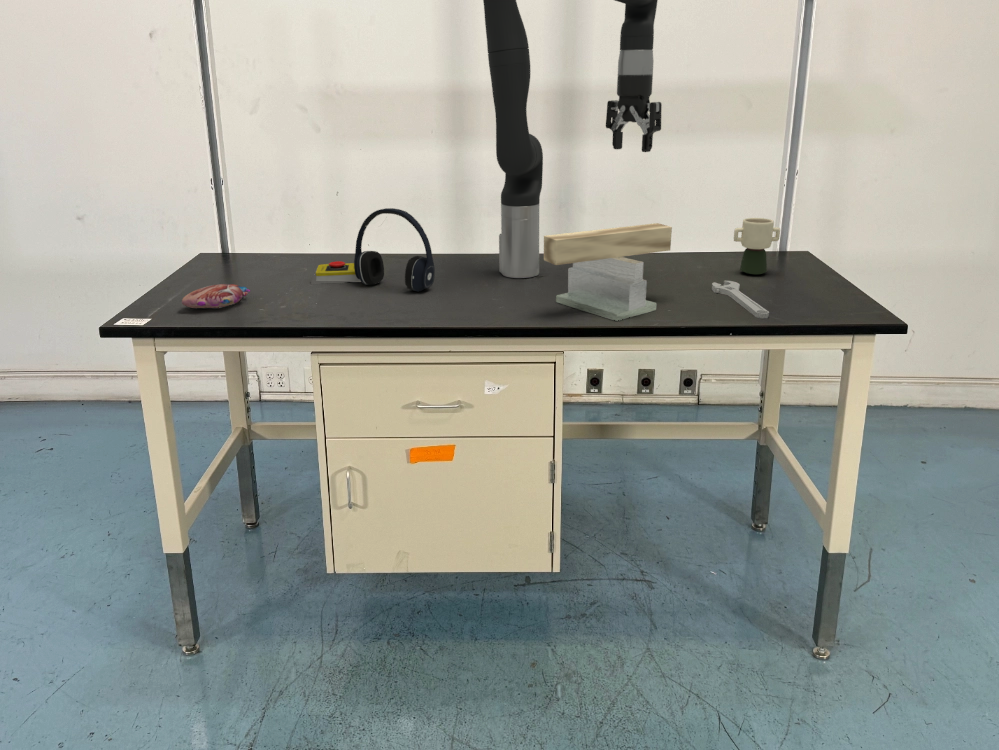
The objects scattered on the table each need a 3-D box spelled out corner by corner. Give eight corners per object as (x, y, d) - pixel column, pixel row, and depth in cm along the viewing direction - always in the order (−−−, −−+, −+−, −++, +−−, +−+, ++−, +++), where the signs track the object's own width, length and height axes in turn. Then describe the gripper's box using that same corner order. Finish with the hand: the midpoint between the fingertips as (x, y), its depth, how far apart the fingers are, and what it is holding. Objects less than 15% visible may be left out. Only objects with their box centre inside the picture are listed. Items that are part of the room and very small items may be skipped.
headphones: (439, 288, 186) (436, 209, 179) (423, 296, 180) (420, 214, 174) (368, 279, 195) (363, 203, 188) (351, 286, 189) (345, 208, 182)
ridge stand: (555, 302, 174) (556, 252, 170) (595, 292, 181) (596, 244, 177) (616, 321, 161) (618, 267, 157) (656, 309, 168) (659, 258, 164)
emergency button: (311, 259, 198) (373, 257, 199) (313, 276, 199) (374, 274, 201) (307, 268, 189) (371, 266, 191) (309, 286, 191) (373, 284, 192)
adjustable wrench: (770, 320, 162) (771, 312, 162) (739, 321, 162) (740, 313, 161) (735, 287, 185) (735, 279, 185) (707, 287, 185) (708, 280, 185)
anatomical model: (230, 320, 169) (261, 287, 181) (220, 296, 166) (252, 264, 178) (186, 323, 172) (220, 291, 184) (176, 299, 169) (211, 268, 181)
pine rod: (543, 260, 164) (543, 235, 162) (656, 245, 175) (657, 223, 173) (555, 265, 160) (556, 240, 158) (670, 250, 171) (671, 227, 169)
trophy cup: (770, 269, 199) (776, 217, 194) (779, 277, 192) (786, 222, 187) (726, 270, 199) (731, 217, 194) (734, 277, 192) (739, 223, 188)
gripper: (672, 72, 170) (667, 151, 176) (623, 72, 180) (619, 147, 186) (648, 73, 165) (644, 154, 171) (599, 73, 176) (596, 149, 182)
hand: (631, 150), depth 179 cm, fingers open, 8 cm apart
